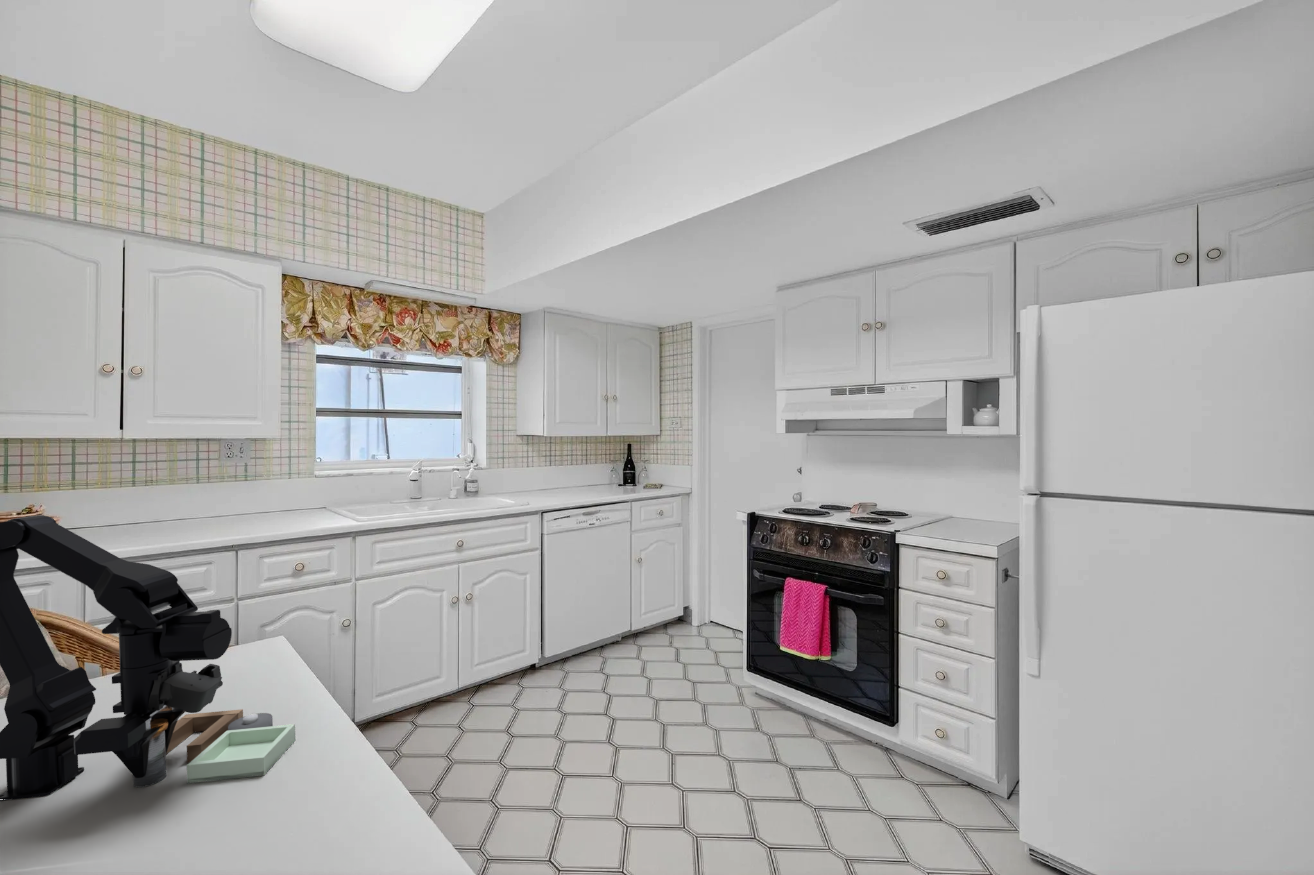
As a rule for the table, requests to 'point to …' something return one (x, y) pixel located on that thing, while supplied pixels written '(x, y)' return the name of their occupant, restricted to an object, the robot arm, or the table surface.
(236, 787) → the table surface
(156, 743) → the pin
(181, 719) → the brown u-shaped piece
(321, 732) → the table surface
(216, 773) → the tray
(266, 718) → the pulley
